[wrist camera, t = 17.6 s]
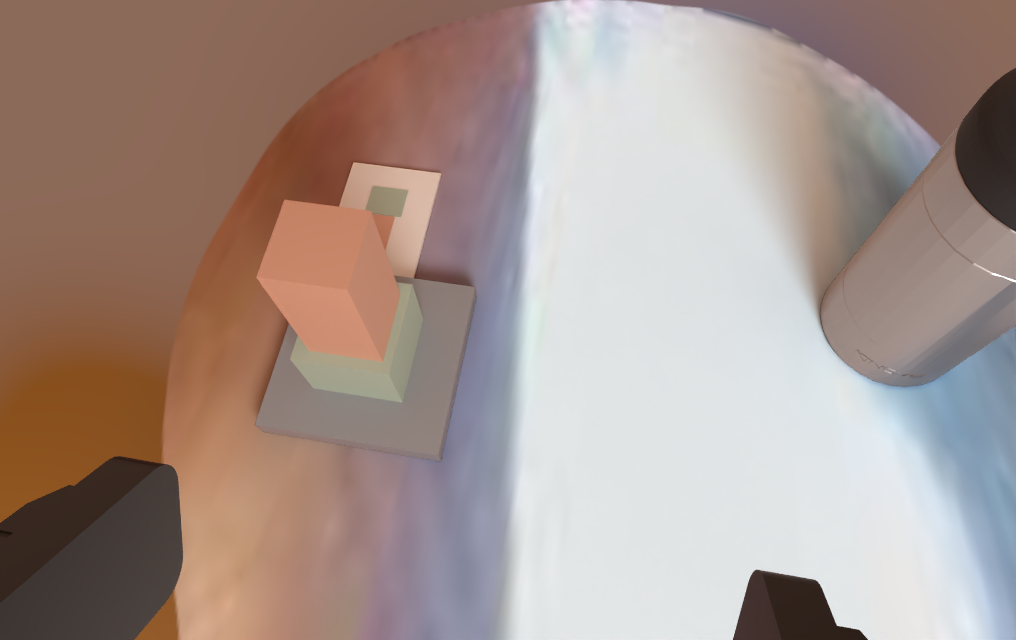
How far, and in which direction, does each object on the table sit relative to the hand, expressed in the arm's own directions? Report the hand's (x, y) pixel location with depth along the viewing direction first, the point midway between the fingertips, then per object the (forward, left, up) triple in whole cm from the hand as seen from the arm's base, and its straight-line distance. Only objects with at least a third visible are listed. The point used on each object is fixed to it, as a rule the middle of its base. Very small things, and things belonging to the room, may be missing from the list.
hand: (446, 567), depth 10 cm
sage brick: (-12, -16, -33) cm, 38 cm away
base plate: (-12, -16, -35) cm, 40 cm away
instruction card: (-22, -21, -35) cm, 46 cm away
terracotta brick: (-12, -15, -28) cm, 34 cm away
